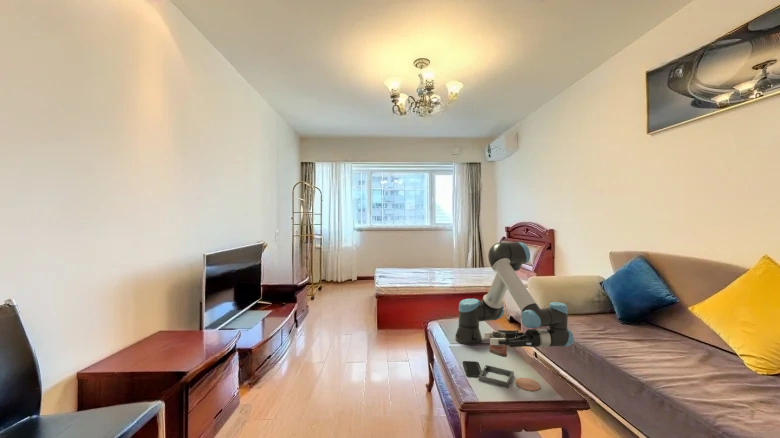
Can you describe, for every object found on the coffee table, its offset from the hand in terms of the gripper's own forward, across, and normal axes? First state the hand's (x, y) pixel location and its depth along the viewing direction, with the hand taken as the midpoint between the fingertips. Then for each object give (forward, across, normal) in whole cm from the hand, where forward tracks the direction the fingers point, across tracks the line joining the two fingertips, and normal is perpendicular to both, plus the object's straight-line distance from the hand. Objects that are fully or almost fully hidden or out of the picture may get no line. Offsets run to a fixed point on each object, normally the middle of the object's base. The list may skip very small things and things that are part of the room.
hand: (487, 338), depth 150 cm
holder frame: (-5, 0, -18) cm, 19 cm away
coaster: (-16, -6, -18) cm, 25 cm away
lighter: (-5, 0, -7) cm, 9 cm away
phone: (+4, +9, -19) cm, 21 cm away
